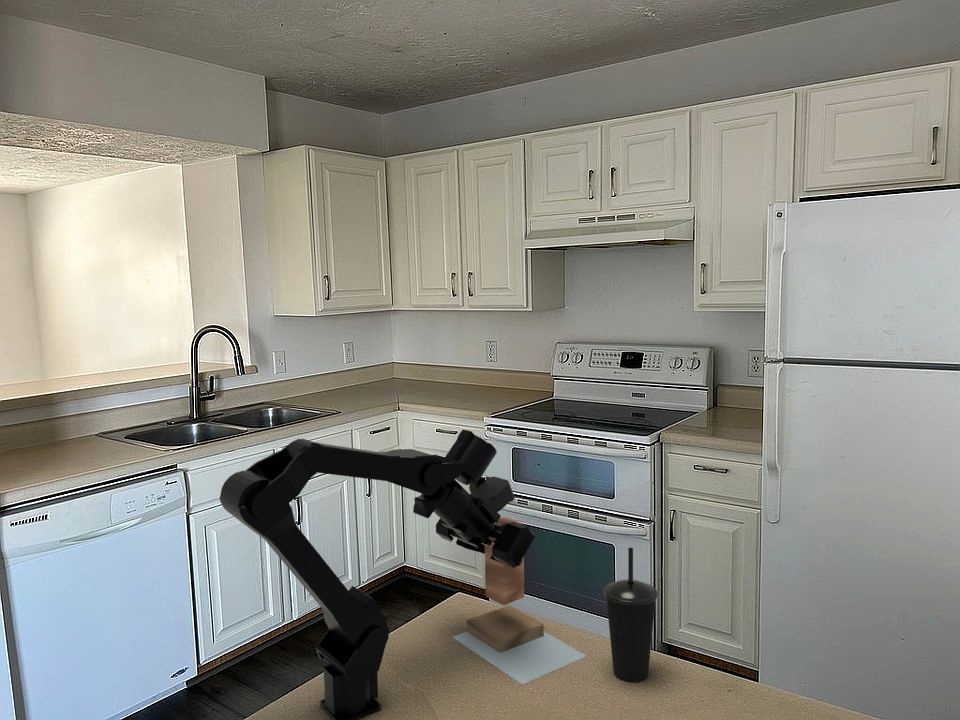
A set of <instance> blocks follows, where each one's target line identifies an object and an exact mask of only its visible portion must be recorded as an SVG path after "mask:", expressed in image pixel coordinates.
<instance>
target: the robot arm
mask: <svg viewBox="0 0 960 720" xmlns="http://www.w3.org/2000/svg"><path fill="white" fill-rule="evenodd" d="M497 453H498V451H497V449H496V447H495V446H494V445H493V444H492V443H489V442H488V441H486V440H485V439H483V438H482V437H479V436H477V435H476V434H475V433H473V431H472V430H468V429H462V430H461V431H460V432H459V434H458V436H457V439H456V440H455V442H454V443H453V444H452V445H451V448H450V449H449V451H448V452H447V453H446V455H444V456H442V455H440V454H439V455H438V454H430V453H427V452H423V451H420V450H417V449H414V448H403V449H401V448H400V449H391V450H387V451H373V450H367V449H366V450H365V449H359V448H353V447H347V446H340V445H334V444H328V443H327V444H326V443H321V442H315V441H311V440H309V439H306V438H297V439H295V440H293V441H291V442H289V443H288V444H286V446H284V447H283V448H282V449H280V450H278V451H276V452H274V453H272V454H270V455H269V456H266V457H264V458H261V459H259V460H258V461H256V462H254V463H253V464H252V465H251V466H249V467H248V468H247V469H245V470H240V471H237V472H234V473H233V474H232V475H230V476H228V478H226V479H225V481H224V482H223V484H222V486H221V489H220V496H219V501H220V505H222V507H223V509H224V510H225V511H226V512H227V513H229V514H230V515H231V516H232V517H234V519H236V520H238V521H240V523H241V524H243V525H244V526H245V527H247V528H248V529H250V530H251V531H253V532H254V534H257V535H258V536H259V537H261V538H262V539H263V540H264V541H265V542H266V543H267V544H268V546H269V547H270V548H271V549H272V551H273V552H275V554H276V555H277V557H279V559H280V560H281V561H282V562H283V564H284V565H285V566H286V567H287V568H288V569H289V571H290V572H291V573H292V574H293V575H294V577H295V578H296V579H297V580H298V581H299V583H300V584H301V585H302V586H303V587H304V588H305V590H306V591H307V592H308V594H309V595H310V596H311V597H312V598H313V599H314V601H316V603H317V604H318V606H320V608H321V609H322V614H323V619H324V622H325V624H326V625H327V629H326V631H325V632H324V634H323V635H322V637H321V638H320V640H319V641H318V643H317V644H316V646H315V651H316V654H317V655H318V658H319V659H320V660H321V661H324V662H325V663H326V664H327V665H325V666H323V682H324V683H323V685H324V699H321V700H320V706H321V708H323V710H324V711H325V712H326V713H327V714H328V715H329V716H330V717H331V719H332V720H357V719H360V718H363V717H365V716H368V715H371V714H373V713H374V712H378V711H380V710H381V709H382V704H381V703H380V702H379V701H378V700H377V699H379V698H378V697H379V681H378V680H379V679H378V678H379V677H378V676H379V675H378V672H380V667H381V666H382V665H381V664H382V661H383V658H384V657H383V656H384V653H385V649H386V646H387V644H388V643H387V642H388V641H389V637H390V634H391V628H390V625H389V623H388V622H387V620H389V619H390V616H389V615H388V614H385V613H384V612H383V611H382V610H381V608H380V606H379V604H378V602H377V601H376V600H375V598H373V597H372V596H370V595H369V594H368V593H367V594H366V593H365V592H363V591H362V590H360V589H359V588H357V587H355V586H354V585H352V586H351V587H350V588H349V589H348V588H347V587H346V586H345V584H344V583H343V582H342V581H341V579H340V578H339V577H338V575H337V574H336V573H335V572H334V570H333V569H332V568H331V567H330V566H329V564H328V563H327V562H326V561H325V559H324V558H323V557H322V555H320V553H319V552H318V550H317V549H316V548H315V546H313V544H312V543H311V542H310V540H308V538H307V537H306V535H305V534H304V533H303V532H302V531H301V529H300V528H299V527H298V525H297V523H296V520H295V515H294V512H293V507H292V506H291V504H290V503H291V502H292V501H294V500H295V499H296V498H297V497H298V496H299V495H300V494H301V492H302V491H303V490H304V488H305V487H306V485H307V484H308V482H309V481H310V480H311V479H312V478H313V477H314V476H316V474H326V475H331V476H333V475H334V476H343V477H351V478H357V479H358V478H359V479H364V480H365V479H367V480H374V481H383V482H388V483H391V484H392V485H393V484H394V485H396V486H400V487H402V488H405V489H408V490H411V491H414V492H417V493H418V494H420V495H419V496H415V497H414V504H413V509H412V510H413V511H412V513H413V514H415V515H418V516H420V517H422V518H426V519H430V517H431V516H432V514H433V513H434V514H435V515H436V516H437V517H438V518H439V519H438V521H437V522H436V524H435V533H436V534H437V535H438V536H439V537H441V539H443V540H445V541H448V542H451V543H453V540H454V539H455V538H456V541H455V545H457V546H460V547H462V548H464V549H467V550H469V551H472V552H477V553H480V554H484V555H485V545H487V546H490V545H491V543H492V540H493V544H494V545H493V547H492V556H491V557H490V559H492V560H494V561H497V562H499V563H502V564H505V565H507V566H510V567H512V568H515V567H517V566H520V565H521V563H522V561H523V560H522V558H523V557H525V555H526V553H527V552H528V549H530V547H531V544H532V543H533V541H534V539H535V538H536V536H535V534H536V533H535V532H534V531H533V530H532V528H530V527H529V526H527V525H524V524H523V525H522V524H519V523H516V522H514V521H513V522H509V523H507V524H502V525H501V526H498V525H495V524H494V523H495V522H498V520H499V519H500V518H502V514H500V513H499V512H500V511H501V510H503V509H504V508H505V507H506V506H507V505H508V504H509V503H512V502H513V501H514V500H515V498H516V496H515V493H514V491H513V490H512V487H511V484H510V482H509V480H508V479H505V478H502V477H497V476H488V475H486V477H483V475H484V473H485V471H486V470H487V469H488V467H489V466H490V464H491V462H492V461H493V459H494V458H495V457H496V456H497ZM460 483H461V484H462V485H465V486H469V487H468V488H469V492H470V493H469V492H468V490H466V489H465V488H464V487H463V486H462V485H461V484H460ZM499 532H501V533H499Z"/></svg>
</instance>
